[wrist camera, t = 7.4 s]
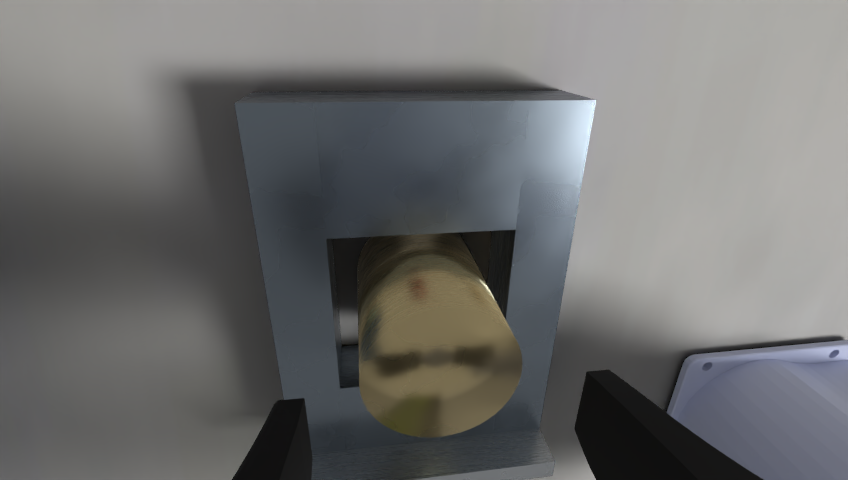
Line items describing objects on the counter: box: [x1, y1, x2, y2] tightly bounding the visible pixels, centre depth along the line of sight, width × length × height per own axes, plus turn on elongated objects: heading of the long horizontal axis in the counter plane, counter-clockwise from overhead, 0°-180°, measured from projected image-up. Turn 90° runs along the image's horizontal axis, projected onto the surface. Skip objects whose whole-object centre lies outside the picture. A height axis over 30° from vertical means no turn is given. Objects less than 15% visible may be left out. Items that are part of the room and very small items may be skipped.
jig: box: [234, 90, 596, 480], centre depth 15 cm, size 10×14×4 cm
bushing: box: [358, 233, 522, 437], centre depth 14 cm, size 4×4×6 cm
